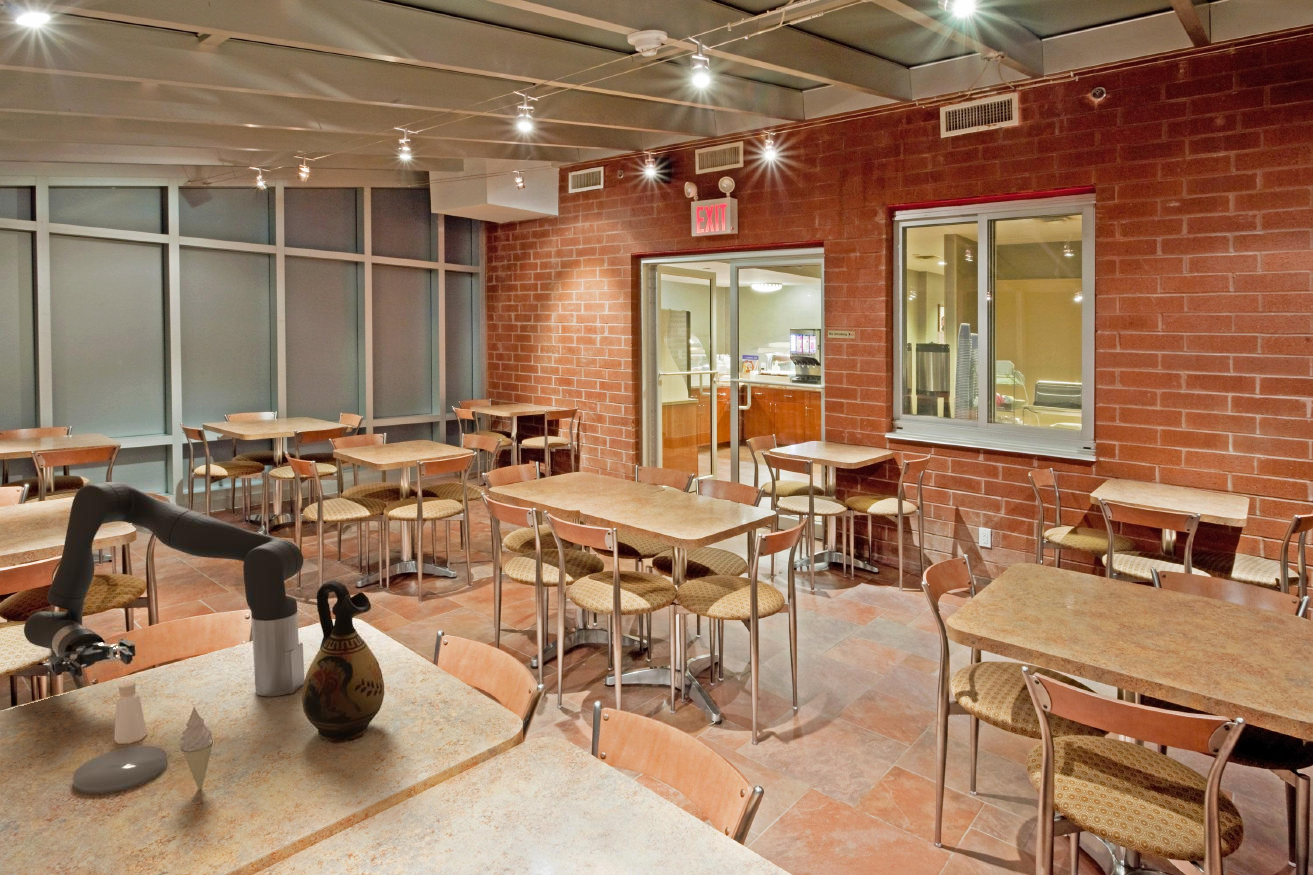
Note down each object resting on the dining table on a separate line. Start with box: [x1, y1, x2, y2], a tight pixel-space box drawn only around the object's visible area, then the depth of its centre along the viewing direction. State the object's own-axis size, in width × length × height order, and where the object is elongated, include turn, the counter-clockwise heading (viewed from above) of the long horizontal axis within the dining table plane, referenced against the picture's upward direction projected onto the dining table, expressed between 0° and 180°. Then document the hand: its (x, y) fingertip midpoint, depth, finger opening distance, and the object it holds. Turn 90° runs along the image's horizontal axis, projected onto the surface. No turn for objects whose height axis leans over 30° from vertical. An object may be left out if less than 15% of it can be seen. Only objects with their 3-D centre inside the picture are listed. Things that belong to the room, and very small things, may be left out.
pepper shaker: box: [113, 680, 148, 745], centre depth 157 cm, size 5×5×11 cm
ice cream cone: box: [179, 706, 215, 791], centre depth 138 cm, size 5×5×15 cm
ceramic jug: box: [301, 580, 385, 744], centre depth 159 cm, size 17×15×30 cm
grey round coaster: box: [72, 745, 168, 795], centre depth 144 cm, size 14×14×2 cm
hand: (104, 665), depth 163 cm, fingers open, 8 cm apart
